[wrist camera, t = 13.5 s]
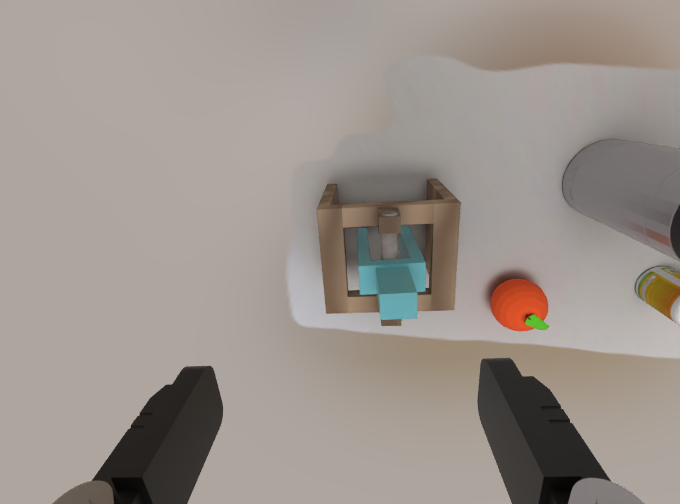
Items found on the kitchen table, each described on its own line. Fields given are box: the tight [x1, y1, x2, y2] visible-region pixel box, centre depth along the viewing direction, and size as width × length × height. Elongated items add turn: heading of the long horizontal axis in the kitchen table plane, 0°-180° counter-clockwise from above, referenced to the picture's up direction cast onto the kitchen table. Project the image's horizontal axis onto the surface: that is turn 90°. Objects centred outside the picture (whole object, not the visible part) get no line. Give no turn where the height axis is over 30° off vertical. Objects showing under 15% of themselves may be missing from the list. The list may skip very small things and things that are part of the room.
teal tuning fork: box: [357, 225, 426, 320], centre depth 37 cm, size 6×3×16 cm, turn 94°
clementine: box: [490, 279, 549, 331], centre depth 48 cm, size 8×7×7 cm
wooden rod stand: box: [317, 179, 461, 326], centre depth 42 cm, size 14×12×15 cm
